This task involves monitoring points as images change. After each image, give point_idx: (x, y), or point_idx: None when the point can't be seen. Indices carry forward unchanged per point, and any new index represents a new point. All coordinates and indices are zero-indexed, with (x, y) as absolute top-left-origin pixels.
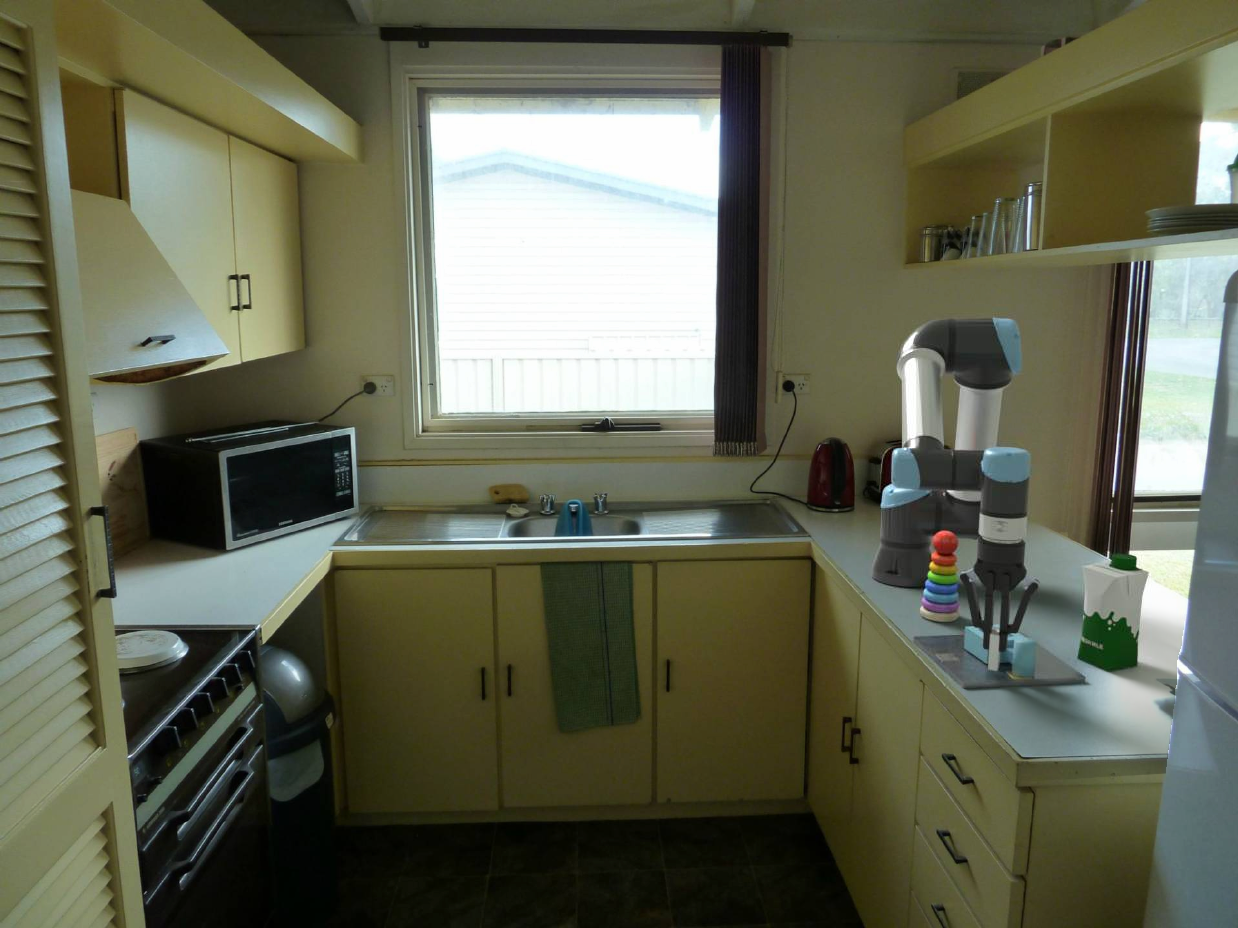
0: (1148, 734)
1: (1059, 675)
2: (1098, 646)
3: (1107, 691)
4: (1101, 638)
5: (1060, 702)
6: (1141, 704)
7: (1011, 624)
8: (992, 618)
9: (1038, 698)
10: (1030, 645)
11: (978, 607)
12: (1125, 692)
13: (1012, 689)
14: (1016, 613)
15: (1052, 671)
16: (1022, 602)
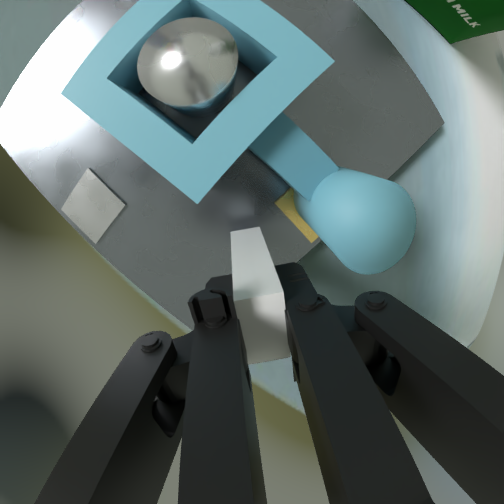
0: (486, 295)
1: (401, 141)
2: (469, 21)
3: (467, 154)
4: (489, 20)
5: (403, 269)
6: (498, 189)
7: (356, 335)
8: (248, 390)
9: (365, 279)
10: (396, 261)
11: (145, 442)
12: (484, 144)
13: (307, 267)
14: (411, 433)
15: (383, 120)
16: (466, 476)
